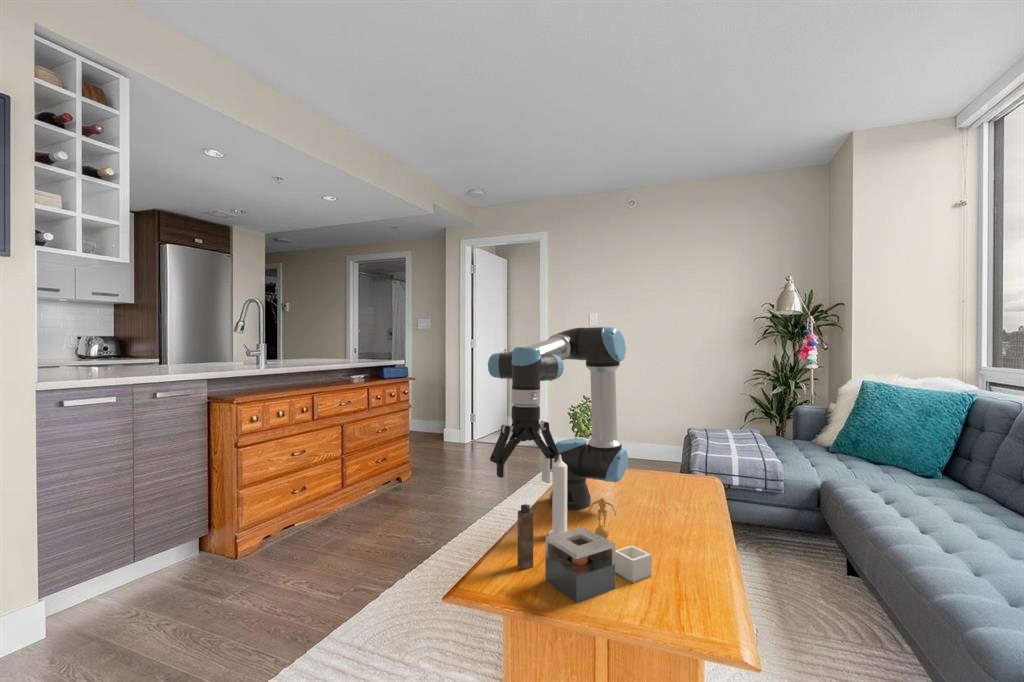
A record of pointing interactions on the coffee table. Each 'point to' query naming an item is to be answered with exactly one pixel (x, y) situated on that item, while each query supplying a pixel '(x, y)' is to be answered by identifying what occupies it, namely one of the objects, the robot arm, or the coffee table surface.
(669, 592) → the coffee table surface
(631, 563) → the pen cup
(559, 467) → the candle
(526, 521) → the wood knob block
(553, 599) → the coffee table surface
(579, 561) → the button
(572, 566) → the grey box with hole
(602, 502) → the figurine
